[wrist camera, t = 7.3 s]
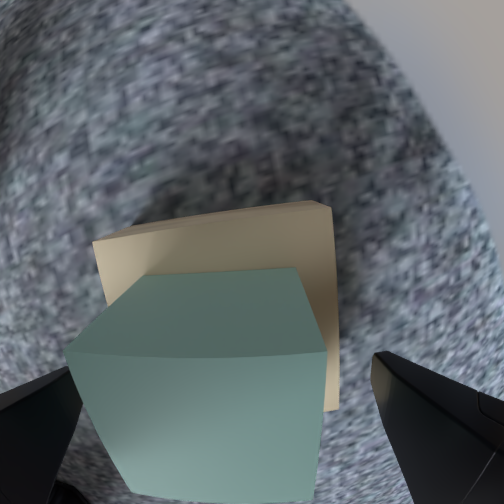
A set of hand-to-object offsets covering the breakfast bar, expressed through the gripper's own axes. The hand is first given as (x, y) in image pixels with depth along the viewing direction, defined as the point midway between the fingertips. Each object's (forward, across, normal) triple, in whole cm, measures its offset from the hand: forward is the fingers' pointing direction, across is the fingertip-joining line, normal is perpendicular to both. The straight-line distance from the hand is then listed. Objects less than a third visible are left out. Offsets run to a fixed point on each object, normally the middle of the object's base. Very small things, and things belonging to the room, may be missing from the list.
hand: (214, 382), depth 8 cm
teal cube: (+2, 0, 0) cm, 2 cm away
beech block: (+6, 0, 0) cm, 6 cm away
